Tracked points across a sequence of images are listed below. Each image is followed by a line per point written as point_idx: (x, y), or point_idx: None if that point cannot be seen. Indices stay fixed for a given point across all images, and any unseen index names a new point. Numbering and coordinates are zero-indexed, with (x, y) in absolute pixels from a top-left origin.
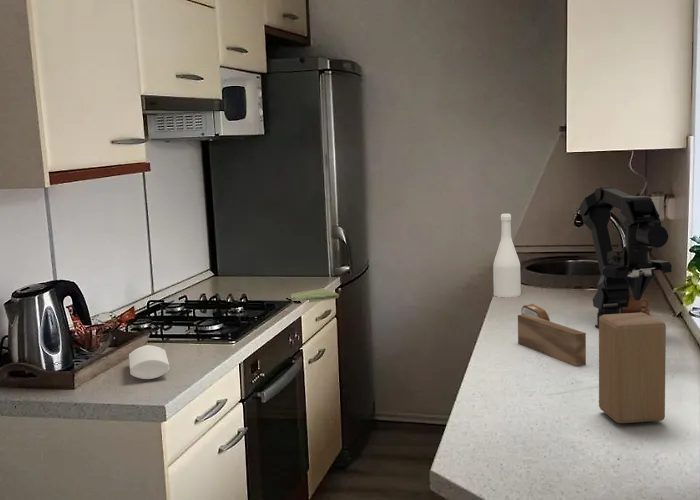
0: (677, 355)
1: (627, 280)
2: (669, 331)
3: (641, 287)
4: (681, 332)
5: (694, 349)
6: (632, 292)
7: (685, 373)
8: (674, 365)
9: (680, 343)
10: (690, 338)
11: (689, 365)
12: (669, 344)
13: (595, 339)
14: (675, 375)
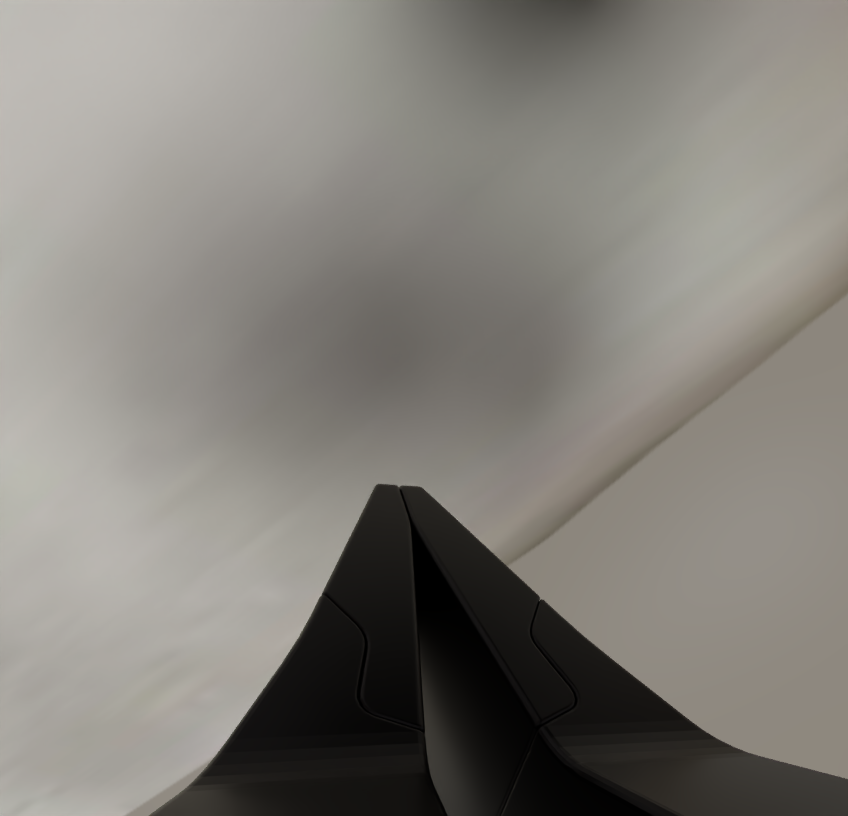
0: (288, 640)
1: (190, 812)
2: (728, 283)
3: (428, 758)
4: (741, 347)
5: None
6: (342, 554)
7: (98, 802)
8: (143, 729)
9: (500, 507)
10: (633, 465)
11: (203, 746)
12: (438, 494)
13: (94, 73)
14: (37, 808)
